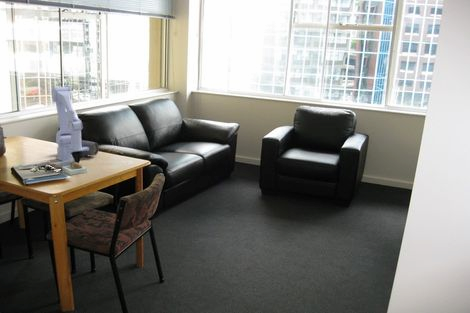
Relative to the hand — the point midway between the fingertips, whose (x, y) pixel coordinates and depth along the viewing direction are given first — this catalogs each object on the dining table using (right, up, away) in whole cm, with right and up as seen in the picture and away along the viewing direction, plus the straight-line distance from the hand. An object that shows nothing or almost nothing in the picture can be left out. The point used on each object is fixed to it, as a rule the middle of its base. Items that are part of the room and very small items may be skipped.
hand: (77, 163), depth 267 cm
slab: (-5, -2, -5) cm, 7 cm away
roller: (+2, -3, -12) cm, 13 cm away
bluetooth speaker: (-6, +5, +22) cm, 23 cm away
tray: (+3, -4, -12) cm, 13 cm away
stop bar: (-10, -3, -10) cm, 14 cm away
